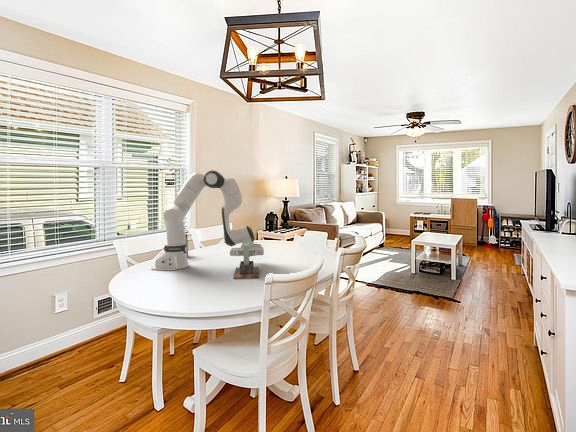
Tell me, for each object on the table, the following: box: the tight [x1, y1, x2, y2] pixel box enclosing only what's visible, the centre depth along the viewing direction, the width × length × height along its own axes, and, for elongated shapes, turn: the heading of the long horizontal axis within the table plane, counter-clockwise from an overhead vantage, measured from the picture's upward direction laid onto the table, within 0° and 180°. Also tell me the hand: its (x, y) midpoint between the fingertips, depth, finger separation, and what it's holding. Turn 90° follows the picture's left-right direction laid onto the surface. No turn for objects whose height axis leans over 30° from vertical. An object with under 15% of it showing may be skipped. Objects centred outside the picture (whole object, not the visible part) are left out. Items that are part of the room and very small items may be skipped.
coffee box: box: [185, 233, 189, 257], centre depth 241 cm, size 9×6×16 cm
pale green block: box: [243, 244, 250, 265], centre depth 193 cm, size 3×6×16 cm, turn 5°
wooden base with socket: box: [233, 260, 260, 280], centre depth 194 cm, size 14×20×6 cm
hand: (246, 254), depth 192 cm, fingers open, 8 cm apart
